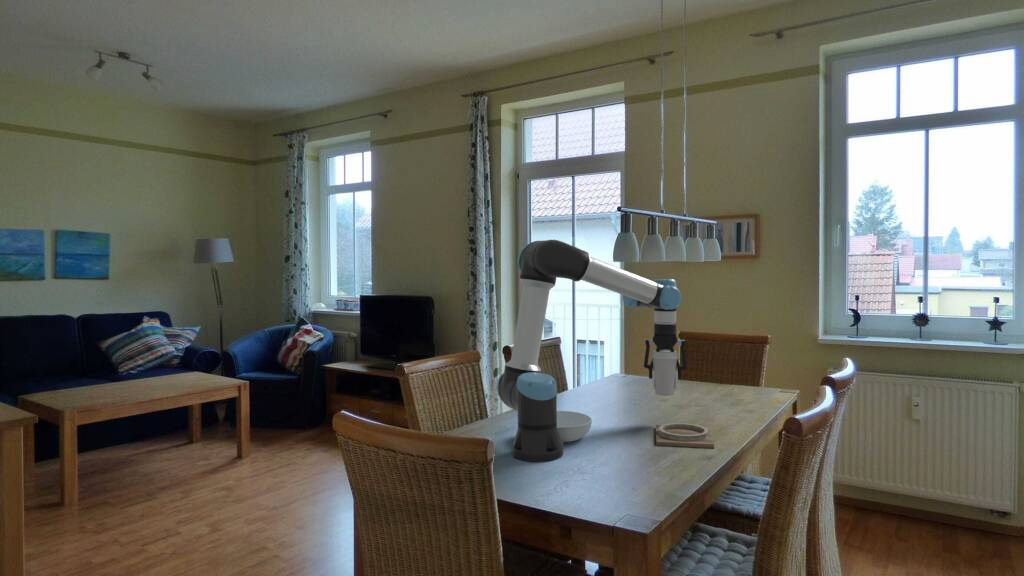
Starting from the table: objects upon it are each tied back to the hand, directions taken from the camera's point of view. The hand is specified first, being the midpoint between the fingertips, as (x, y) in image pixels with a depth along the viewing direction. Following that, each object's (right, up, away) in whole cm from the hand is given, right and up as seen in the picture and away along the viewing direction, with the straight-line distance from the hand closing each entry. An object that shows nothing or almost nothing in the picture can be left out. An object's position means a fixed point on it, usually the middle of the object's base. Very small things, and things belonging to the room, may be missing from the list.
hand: (664, 388), depth 212 cm
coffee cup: (0, -2, 0) cm, 2 cm away
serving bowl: (-38, -14, -16) cm, 44 cm away
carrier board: (+2, -13, -17) cm, 22 cm away
